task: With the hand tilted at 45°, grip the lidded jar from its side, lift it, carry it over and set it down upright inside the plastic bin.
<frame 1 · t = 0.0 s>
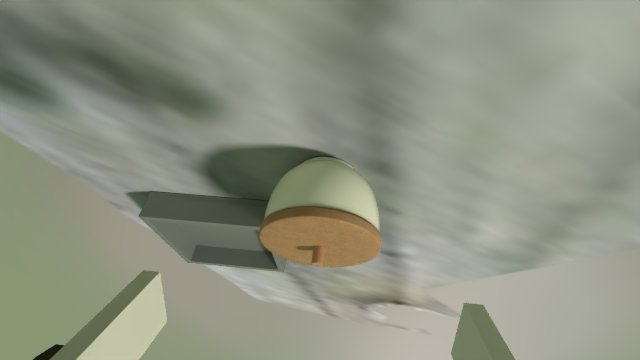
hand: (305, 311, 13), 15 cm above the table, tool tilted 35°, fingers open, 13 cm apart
lidded jar: (326, 173, 31), on the table
bin: (228, 225, 43), on the table
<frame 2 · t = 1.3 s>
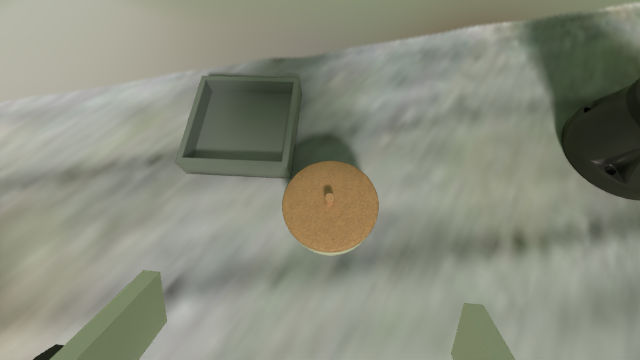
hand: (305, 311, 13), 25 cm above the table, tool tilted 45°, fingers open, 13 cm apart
lidded jar: (331, 223, 41), on the table
bin: (247, 131, 47), on the table
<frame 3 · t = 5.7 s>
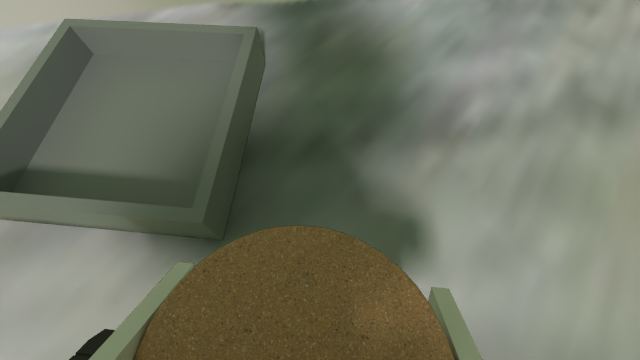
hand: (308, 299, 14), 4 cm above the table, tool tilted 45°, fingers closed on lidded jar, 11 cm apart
bin: (148, 131, 23), on the table
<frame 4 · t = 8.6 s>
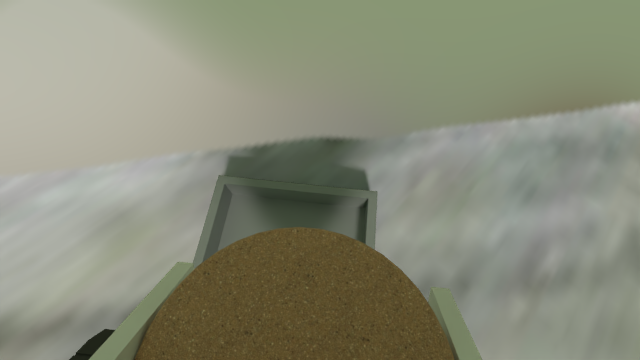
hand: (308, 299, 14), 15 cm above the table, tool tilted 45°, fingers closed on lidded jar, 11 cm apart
bin: (287, 271, 29), on the table
when the fingers open (6 cm above the table, at t = 11.7 s): lidded jar drops 1 cm, resting on bin.
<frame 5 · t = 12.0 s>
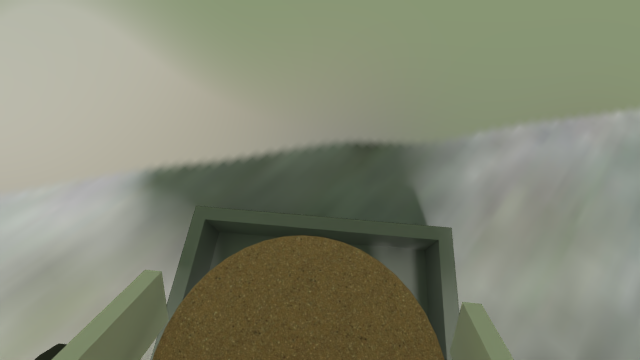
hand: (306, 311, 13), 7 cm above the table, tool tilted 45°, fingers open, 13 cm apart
bin: (308, 358, 18), on the table
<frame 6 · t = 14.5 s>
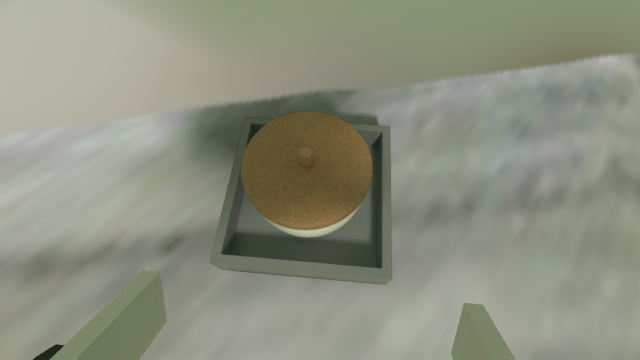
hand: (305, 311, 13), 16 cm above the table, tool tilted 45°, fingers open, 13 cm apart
lidded jar: (310, 199, 32), point 1 cm above the table, touching bin
bin: (310, 201, 32), on the table
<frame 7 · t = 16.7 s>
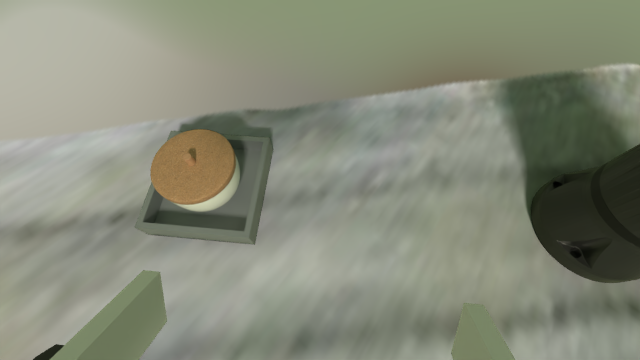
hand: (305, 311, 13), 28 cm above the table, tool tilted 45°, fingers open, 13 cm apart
lidded jar: (213, 188, 46), point 1 cm above the table, touching bin
bin: (214, 189, 47), on the table
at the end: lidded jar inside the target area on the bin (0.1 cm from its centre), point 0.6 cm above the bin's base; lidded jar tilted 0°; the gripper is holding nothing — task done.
